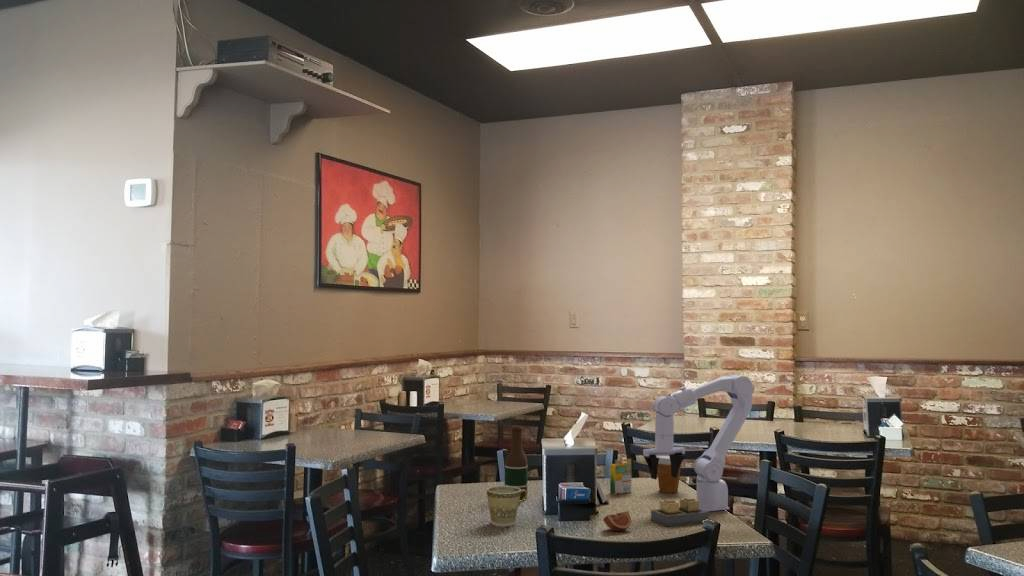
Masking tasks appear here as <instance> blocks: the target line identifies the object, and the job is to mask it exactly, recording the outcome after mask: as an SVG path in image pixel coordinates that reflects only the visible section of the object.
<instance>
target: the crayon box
mask: <svg viewBox="0 0 1024 576" xmlns="http://www.w3.org/2000/svg"><path fill="white" fill-rule="evenodd" d="M609 473H610V474H609V476H610V478H609V481H610V483H609V488H610V490H609V492H612V493H611V494H613V493H614V494H613V495H618V494H617V493H619V494H624V493H625V492H627V493H632V458H625V459H615V460H614V463H612V464H609ZM625 494H626V493H625Z"/></svg>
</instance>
